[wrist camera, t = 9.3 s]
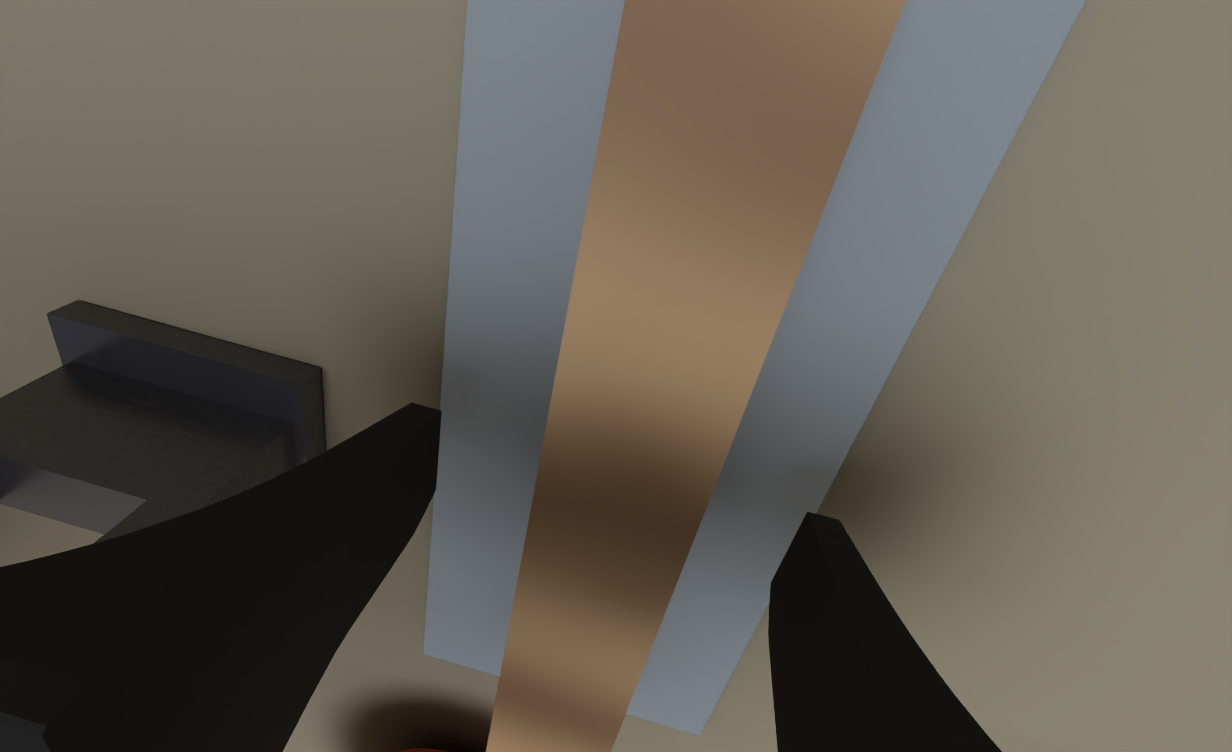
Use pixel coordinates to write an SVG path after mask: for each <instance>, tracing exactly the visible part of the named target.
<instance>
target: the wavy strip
mask: <svg viewBox="0 0 1232 752" xmlns="http://www.w3.org/2000/svg"><path fill="white" fill-rule="evenodd" d="M905 2H906V0H625V2H624V7H623V13H622V18H621V24H620V29H619V34H618V40H617V45H616V51H615V56H614V61H613V67H612V72H611V78H610V83H609V89H608V94H607V99H606V105H605V110H604V116H603V121H602V126H601V132H600V137H599V143H598V148H597V153H596V159H595V164H594V170H593V175H592V180H591V186H590V191H589V197H588V202H587V207H586V213H585V218H584V224H583V229H582V234H581V240H580V245H579V251H578V256H577V262H576V267H575V272H574V278H573V283H572V289H571V294H570V299H569V305H568V310H567V316H566V321H565V326H564V332H563V337H562V343H561V348H560V353H559V359H558V364H557V370H556V375H555V380H554V386H553V391H552V397H551V402H550V407H549V413H548V418H547V424H546V429H545V434H544V440H543V445H542V451H541V456H540V462H539V467H538V472H537V478H536V483H535V489H534V494H533V499H532V505H531V510H530V516H529V521H528V526H527V532H526V537H525V543H524V548H523V553H522V559H521V564H520V570H519V575H518V580H517V586H516V591H515V597H514V602H513V607H512V613H511V618H510V624H509V629H508V635H507V640H506V645H505V651H504V656H503V662H502V667H501V672H500V678H499V683H498V689H497V694H496V699H495V705H494V710H493V716H492V721H491V726H490V732H489V737H488V743H487V748H486V752H611V750H612V747H613V745H614V742H615V740H616V737H617V734H618V732H619V729H620V727H621V724H622V722H623V719H624V717H625V714H626V712H627V709H628V706H629V704H630V701H631V699H632V696H633V694H634V691H635V689H636V686H637V684H638V681H639V678H640V676H641V673H642V671H643V668H644V666H645V663H646V661H647V658H648V656H649V653H650V650H651V648H652V645H653V643H654V640H655V638H656V635H657V633H658V630H659V628H660V625H661V622H662V620H663V617H664V615H665V612H666V610H667V607H668V605H669V602H670V600H671V597H672V594H673V592H674V589H675V587H676V584H677V582H678V579H679V577H680V574H681V572H682V569H683V567H684V564H685V561H686V559H687V556H688V554H689V551H690V549H691V546H692V544H693V541H694V539H695V536H696V533H697V531H698V528H699V526H700V523H701V521H702V518H703V516H704V513H705V511H706V508H707V505H708V503H709V500H710V498H711V495H712V493H713V490H714V488H715V485H716V483H717V480H718V477H719V475H720V472H721V470H722V467H723V465H724V462H725V460H726V457H727V455H728V452H729V449H730V447H731V444H732V442H733V439H734V437H735V434H736V432H737V429H738V427H739V424H740V421H741V419H742V416H743V414H744V411H745V409H746V406H747V404H748V401H749V399H750V396H751V394H752V391H753V388H754V386H755V383H756V381H757V378H758V376H759V373H760V371H761V368H762V366H763V363H764V360H765V358H766V355H767V353H768V350H769V348H770V345H771V343H772V340H773V338H774V335H775V332H776V330H777V327H778V325H779V322H780V320H781V317H782V315H783V312H784V310H785V307H786V304H787V302H788V299H789V297H790V294H791V292H792V289H793V287H794V284H795V282H796V279H797V276H798V274H799V271H800V269H801V266H802V264H803V261H804V259H805V256H806V254H807V251H808V248H809V246H810V243H811V241H812V238H813V236H814V233H815V231H816V228H817V226H818V223H819V221H820V218H821V215H822V213H823V210H824V208H825V205H826V203H827V200H828V198H829V195H830V193H831V190H832V187H833V185H834V182H835V180H836V177H837V175H838V172H839V170H840V167H841V165H842V162H843V159H844V157H845V154H846V152H847V149H848V147H849V144H850V142H851V139H852V137H853V134H854V131H855V129H856V126H857V124H858V121H859V119H860V116H861V114H862V111H863V109H864V106H865V103H866V101H867V98H868V96H869V93H870V91H871V88H872V86H873V83H874V81H875V78H876V75H877V73H878V70H879V68H880V65H881V63H882V60H883V58H884V55H885V53H886V50H887V48H888V45H889V42H890V40H891V37H892V35H893V32H894V30H895V27H896V25H897V22H898V20H899V17H900V14H901V12H902V9H903V7H904V4H905Z"/></svg>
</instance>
